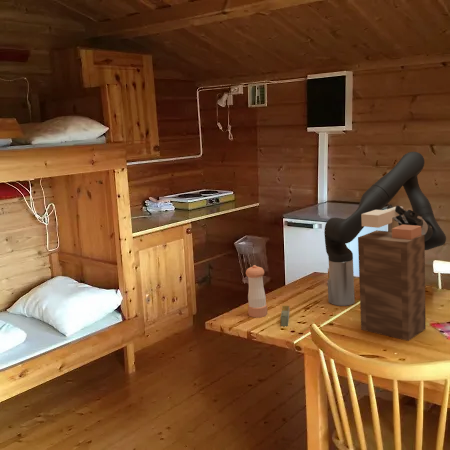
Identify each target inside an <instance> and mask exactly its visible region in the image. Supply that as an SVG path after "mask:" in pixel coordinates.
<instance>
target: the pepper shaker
mask: <svg viewBox="0 0 450 450" xmlns="http://www.w3.org/2000/svg"><path fill="white" fill-rule="evenodd" d="M264 275H265V269H264V268H263V267H260V266H257V265H256V264H253V265H252V266H251V267H248V268H247V269H246V270H245V276H246V277H247V278H248V281H247V282H248V294H247V300H248V305H247V311H248V316H249V317H250V318H262V317H265V316H267V315H268V304H267V302H266V299H267V297H266V293H265V292H266V291H265V288H264V278H263V277H264Z"/></svg>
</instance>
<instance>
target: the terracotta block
mask: <svg viewBox="0 0 450 450" xmlns="http://www.w3.org/2000/svg"><path fill="white" fill-rule="evenodd" d="M391 232H392V238H400V239H410V240H412V239H414V238H416V237H418V236H421V235H422V234H421V226H415V225H400V226H399V225H398V226H395V227H393V228H391Z"/></svg>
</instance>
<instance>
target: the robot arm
mask: <svg viewBox="0 0 450 450" xmlns="http://www.w3.org/2000/svg"><path fill="white" fill-rule="evenodd" d="M424 167H425V158H424V156H423V154H421V153H419V151H418V152H417V151H409V152H406V153H405V154H404V155H403V156H402V157H401V158H400V159H399V160H398V162H397V163H396V164H395V166H393V168H391V169H390V170H389V171H388V172H386V173H385V175H383V176H382V177H380V178H379V179H378V180H377V181H376V182H374V183H373V184H372V185H371V186H370V187H369V188H368V189H366V191H365V192H363V194H362V195H361V197H360V199H359V200H360V201H359V205H358V207H357V208H356V210H355V211H354V212H353V213H352V214H351V215H350V216H348V217H347V218H341V217H331V218H330V219H328V220H327V221H326V223H325V225H324V232H323V233H324V242H325V243H324V245H325V252H326V254H327V257H328V268H329V279H328V278H327V281H326V282H327V299H328V303H329V304H332V305H333V306H339V307H341V306H345V307H346V306H351V305H353V304H355V303H356V301H355V280H354V279H355V278H354V276H355V275H354V253H353V251H352V250H351V249H349V248H348V246H347V244H349V243H351V242H352V241H354V239H356V237H357V236H358V235H359V234H360V232H361V231H363V229H364V228H365V226H362V218H361V214H364V213H367V212H370V211H373V210H384V208H385V207H386V210H387V209H390V208H393V207H394V206H393V205H391V204H389V203H390V202H391V201H392V200H393V199H394V197H395V196H396V195H397V194H398V193H399V191H400V189H402V187H403V189H404V191H405V193H406V196H407V198H408V201H409V203H410V206H411V209H412V210H411V209H406V208H403V209H402V208H401V207H402V206H400V205H395V207H396V208H395V211H396V212H397V213H398V214H399V216H396V217H393V218H392V220H393V221H395V222H396V223H397V224H398V226H400V225H415V226H421V234H422V235H424V241H425V251H429V250H432V249H436V248H438V247H441V246H444V245H445V243H446V242H447V236H446V234H445V232H444V230H443V229H442V227H441V226H440V224H439V223H438V221H437V220H436V217H435V214H434V211H433V208H432V204H431V203H430V201H429V199H428V197H427V196H426V195H425V194H424V192H423V191H422V190H421V188H420V185H419V179H418V178H419V177H418V175H419V174H420V173H421V172H422V170H423V169H424Z"/></svg>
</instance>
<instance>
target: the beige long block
mask: <svg viewBox="0 0 450 450" xmlns="http://www.w3.org/2000/svg"><path fill="white" fill-rule="evenodd" d="M392 207H393V208H390V209H387V208H386V209H381V210H373V211H370V212H367V213H364V214H361V218H362V226H364V228H365V227H366V228H376V229H380V228H381V227H385V226H387V225H390V224H392V223H393V219H392V218H393V217H396V216H399V214H398V213H397V212H396V211H395V208H396V206H392ZM400 207H401V208H402V209H404V206H400Z"/></svg>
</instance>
